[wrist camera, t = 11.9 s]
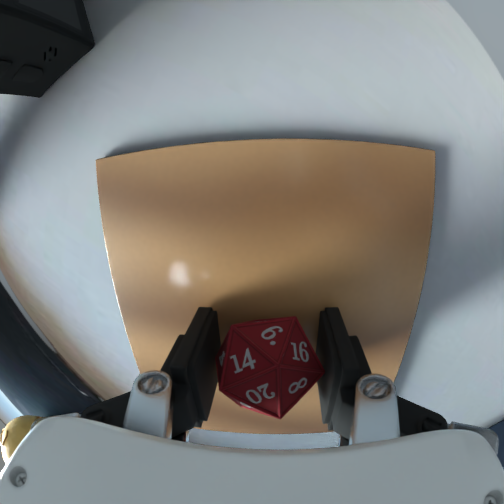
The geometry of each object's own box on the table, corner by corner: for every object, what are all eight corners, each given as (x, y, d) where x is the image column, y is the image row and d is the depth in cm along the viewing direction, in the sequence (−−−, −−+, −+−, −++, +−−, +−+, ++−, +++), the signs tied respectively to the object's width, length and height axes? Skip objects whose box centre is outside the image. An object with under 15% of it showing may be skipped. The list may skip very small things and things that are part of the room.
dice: (277, 274, 11) (277, 334, 7) (330, 349, 12) (345, 416, 8) (203, 318, 12) (175, 381, 8) (261, 381, 12) (255, 446, 9)
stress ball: (100, 443, 18) (63, 514, 9) (91, 461, 21) (64, 515, 12) (23, 383, 17) (-25, 441, 8) (29, 416, 20) (-5, 463, 11)
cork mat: (100, 159, 10) (95, 159, 10) (430, 150, 9) (435, 150, 8) (162, 418, 15) (160, 422, 15) (373, 421, 14) (375, 426, 13)
